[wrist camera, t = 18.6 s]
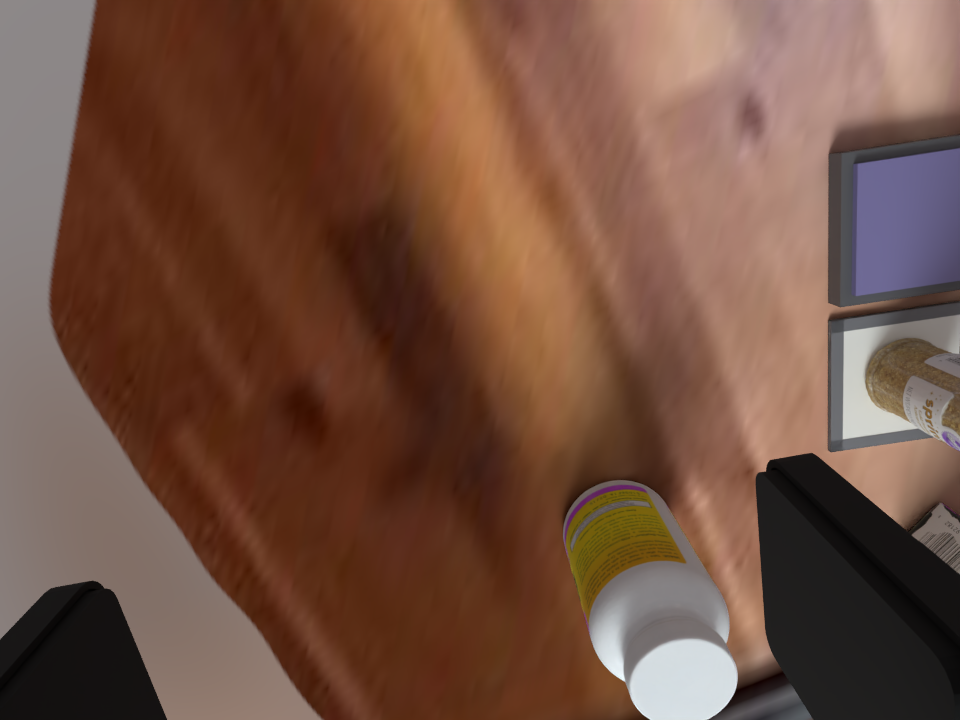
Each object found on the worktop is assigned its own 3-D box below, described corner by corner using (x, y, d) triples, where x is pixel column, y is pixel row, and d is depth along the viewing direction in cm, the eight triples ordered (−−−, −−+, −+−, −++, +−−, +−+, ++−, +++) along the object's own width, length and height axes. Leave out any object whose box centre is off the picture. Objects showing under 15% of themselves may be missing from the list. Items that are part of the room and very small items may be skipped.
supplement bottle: (538, 530, 40) (572, 690, 28) (614, 454, 39) (685, 587, 27) (616, 591, 42) (681, 770, 29) (692, 520, 40) (793, 675, 28)
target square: (828, 320, 37) (831, 321, 37) (971, 298, 37) (975, 300, 37) (827, 449, 39) (830, 452, 39) (962, 430, 39) (966, 432, 39)
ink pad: (828, 153, 34) (846, 153, 33) (982, 130, 34) (1006, 128, 33) (828, 302, 37) (844, 308, 35) (972, 281, 37) (994, 286, 35)
